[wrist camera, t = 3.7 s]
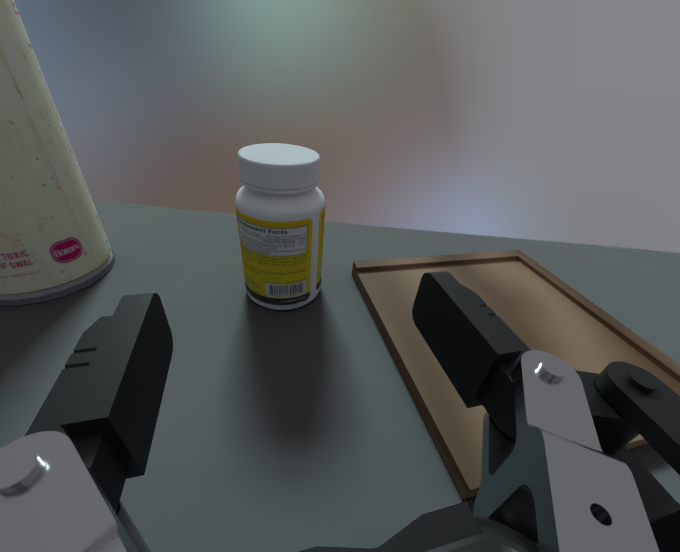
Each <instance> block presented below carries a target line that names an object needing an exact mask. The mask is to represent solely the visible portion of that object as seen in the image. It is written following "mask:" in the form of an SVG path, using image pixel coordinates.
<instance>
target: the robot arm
mask: <svg viewBox="0 0 680 552" xmlns="http://www.w3.org/2000/svg"><path fill="white" fill-rule="evenodd" d="M412 316H413V320H414V323H415V325H416V327H417V329H418V330H419V332H420V333H421V335H422V337H423V338H424V340H425V341H426V343H427V345H428V346H429V348H430V349H431V351H432V352H433V354H434V356H435V357H436V359H437V360H438V362H439V364H440V365H441V367H442V368H443V370H444V372H445V373H446V375H447V376H448V378H449V380H450V381H451V383H452V384H453V386H454V388H455V389H456V391H457V392H458V394H459V396H460V397H461V399H462V400H463V402H464V404H465V405H466V407H467V408H471V407H476V406H481V405H483V407H484V408H485V410H486V413H485V414H484V417H483V439H482V471H481V483H480V487H479V490H478V493H477V496H476V499H475V503H474V509H473V513H472V511H471V509H470V507H469V505H468V503H467V501H466V502H463V503H459V504H456V505H453V506H449V507H446V508H443V509H439V510H436V511H433V512H429V513H426V514H423V515H421V516H420V517H418V518H417V519H416V520H414V521H413V522H412V523H410V524H409V525H408V526H406V527H405V528H404V529H402V530H401V531H400V532H398V533H397V534H396V535H394V536H393V537H392V538H390V539H389V540H388V541H387V542H385V543H384V544H383V545H381V546H379V547H377V548H373V549H366V548H342V547H318V546H316V547H313V548H309V549H306V550H303V551H299V552H680V504H679V503H678V502H676V501H675V500H674V499H673V497H672V496H671V495H670V494H669V493H668V492H667V491H666V490H665V489H664V488H663V486H662V485H661V484H660V483H659V482H658V481H657V480H656V479H655V478H654V477H653V475H652V474H651V473H650V472H649V471H648V470H647V469H646V468H645V467H644V466H643V464H642V463H641V462H640V461H639V460H638V459H637V458H636V457H635V456H634V455H633V453H632V452H631V451H630V450H629V449H628V448H627V447H626V446H625V445H627V444H628V443H629V442H630V441H632V440H633V439H634V438H635V437H637V436H638V435H639V434H640V435H641V436H642V437H643V438H644V439H645V440H646V441H647V442H648V443H649V444H650V445H651V446H652V447H653V448H654V449H655V450H656V451H657V452H658V453H659V454H660V455H661V456H662V457H663V459H664V460H665V461H666V462H667V463H668V464H669V465H670V466H671V467H672V468H673V469H674V470H675V471H676V472H677V473H678V474H679V475H680V396H679V395H678V394H677V393H675V392H674V391H673V390H672V389H671V388H669V387H668V386H667V385H666V384H665V383H663V382H662V381H661V380H660V379H658V378H657V377H656V376H654V375H653V374H651V373H650V372H648V371H646V370H644V369H642V368H640V367H638V366H636V365H633V364H630V363H627V362H621V361H614V362H611V363H609V364H608V365H607V366H606V367H605V369H604V370H603V371H602V372H601V373H600V374H598V373H591V372H583V371H576V370H574V369H573V368H572V367H571V366H570V365H569V364H568V363H566V362H565V361H563V360H562V359H560V358H559V357H557V356H555V355H553V354H550V353H548V352H544V351H539V350H531V349H530V348H529V347H528V346H527V345H526V344H525V343H524V342H523V341H522V340H521V339H520V338H519V337H518V336H517V335H516V334H515V333H514V332H513V331H512V330H511V329H510V328H509V327H508V326H507V325H506V323H505V322H504V321H503V320H502V319H501V318H500V317H499V316H496V313H495V312H494V311H493V310H492V309H491V308H490V307H489V306H488V307H487V304H486V303H485V302H484V301H483V299H482V298H481V297H480V296H479V295H478V294H477V293H475V292H474V291H472V290H470V289H469V288H467V287H466V286H464V285H461V284H460V283H459V282H458V281H457V280H456V279H455V278H454V276H453V275H452V274H451V273H450V272H448V271H440V272H427V273H424V274H423V276H422V278H421V281H420V284H419V287H418V291H417V294H416V297H415V301H414V304H413V308H412ZM172 351H173V339H172V333H171V330H170V327H169V324H168V321H167V318H166V314H165V311H164V308H163V305H162V302H161V299H160V297H159V295H158V294H157V293H151V294H138V295H126V296H123V297H122V298H121V300H120V302H119V304H118V306H117V308H116V310H115V312H114V314H113V316H107V317H101V318H99V319H98V320H97V321H96V322H95V323H94V324H93V325H92V326H90V327H89V328H88V329H87V330H86V331H85V332H84V333H83V334H82V336H81V338H80V339H79V341H78V343H77V345H76V347H75V348H74V353H73V354H71V355H70V357H69V359H68V361H67V363H66V364H65V369H63V370H62V371H61V373H60V375H59V377H58V379H57V380H56V382H55V384H54V386H53V387H52V389H51V391H50V393H49V394H48V396H47V398H46V400H45V402H44V403H43V405H42V407H41V409H40V410H39V412H38V414H37V416H36V418H35V419H34V421H33V423H32V425H31V426H30V428H29V430H28V431H27V433H26V435H25V436H24V437H22V438H20V439H17V440H15V441H14V442H12V443H10V444H8V445H6V446H5V447H3V448H1V449H0V552H150V550H149V548H148V547H147V545H146V543H145V541H144V540H143V538H142V536H141V535H140V533H139V531H138V530H137V528H136V526H135V524H134V523H133V521H132V519H131V518H130V516H129V514H128V513H127V511H126V509H125V507H124V506H123V504H122V502H121V501H120V497H121V494H122V490H123V486H124V483H125V479H127V478H132V477H137V476H141V475H144V473H145V469H146V465H147V460H148V456H149V452H150V448H151V443H152V439H153V435H154V430H155V426H156V422H157V417H158V413H159V409H160V404H161V400H162V396H163V392H164V387H165V383H166V379H167V374H168V370H169V366H170V361H171V357H172Z"/></svg>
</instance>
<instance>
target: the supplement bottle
mask: <svg viewBox="0 0 680 552" xmlns="http://www.w3.org/2000/svg"><path fill="white" fill-rule="evenodd" d="M238 167H239V177H240V182H241V183H242V185H244V186H243V187H242V188H240V189H239V191H238V192H237V195H236V199H235V202H236V203H235V205H236V214H237V222H238V229H239V237H240V245H241V253H242V261H243V269H244V277H245V285H246V290H247V293H248V295H249V297H250V298H251V299H252V300H253V301H254V302H256V303H257V304H259V305H261V306H264V307H266V308H270V309H275V310H290V309H295V308H299V307H301V306H304V305H306V304H308V303H309V302H311V301H312V300H313V299H314V298H315V297H316V296H317V294H318V293H319V290H320V287H321V273H322V251H323V233H324V215H325V199H324V196H323V194H322V192H321V191H320V190H319V189H318V188H317V186H318V184H319V178H320V176H319V172H320V157H319V155H318V153H317V152H315V151H313V150H311V149H308V148H305V147H301V146H296V145H289V144H278V143H269V144H256V145H250V146H247V147H244V148H242V149H240V150H239V152H238Z"/></svg>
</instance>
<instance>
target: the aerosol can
mask: <svg viewBox="0 0 680 552" xmlns="http://www.w3.org/2000/svg"><path fill="white" fill-rule="evenodd" d="M114 262H115V257H114V254H113V252H112V249H111V247H110V244H109V241H108V239H107V236H106V234H105V231H104V229H103V226H102V224H101V221H100V219H99V216H98V213H97V211H96V208H95V206H94V203H93V201H92V198H91V196H90V193H89V191H88V188H87V185H86V183H85V181H84V178H83V175H82V173H81V170H80V168H79V165H78V163H77V160H76V158H75V155H74V152H73V150H72V147H71V145H70V142H69V140H68V137H67V135H66V132H65V130H64V127H63V124H62V122H61V120H60V117H59V114H58V112H57V109H56V107H55V104H54V102H53V99H52V97H51V94H50V92H49V89H48V86H47V84H46V81H45V79H44V76H43V74H42V71H41V68H40V66H39V64H38V61H37V58H36V56H35V53H34V51H33V48H32V46H31V43H30V40H29V38H28V35H27V33H26V30H25V28H24V25H23V23H22V21H21V18H20V15H19V12H18V10H17V7H16V5H15V2H14V0H0V305H14V306H16V305H24V304H32V303H40V302H44V301H47V300H51V299H55V298H59V297H63V296H66V295H68V294H71V293H73V292H76V291H78V290H81V289H83V288H86V287H87V286H89V285H91V284H92V283H94V282H96V281H97V280H99V279H101V278H102V277H103V276H104V275H105V274H106V273H108V272H109V271H110V270H111V269H112V267H113V264H114Z"/></svg>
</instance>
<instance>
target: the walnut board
mask: <svg viewBox="0 0 680 552" xmlns="http://www.w3.org/2000/svg"><path fill="white" fill-rule="evenodd" d="M440 271H448V272H450V273H451V274H452V275H453V276H454V278H455V279H456V280H457V281H458V282H459V283H460V284H461V285H464V286H466V287H467V288H469V289H470V290H472V291H474V292H475V293H477V294H478V295H479V296H480V297H481V298H482V299H483V301H484V302H485V303H486V304H487V307H488V306H489V307H490V308H491V309H492V310H493V311H494V312H495V313H496V316H499V317H500V318H501V319H502V320H503V321H504V322H505V323H506V325H507V326H508V327H509V328H510V329H511V330H512V331H513V332H514V333H515V334H516V335H517V336H518V337H519V338H520V339H521V340H522V341H523V342H524V343H525V344H526V345H527V346H528V347H529V348H530V349H531V350H539V351H544V352H548V353H550V354H553V355H555V356H557V357H559V358H560V359H562V360H563V361H565V362H566V363H568V364H569V365H570V366H571V367H572V368H573V369H574V370H576V371H583V372H591V373H598V374H600V373H601V372H602V371H603V370H604V369H605V367H606V366H607V365H608V364H609V363H611V362H614V361H621V362H627V363H630V364H633V365H636V366H638V367H640V368H642V369H644V370H646V371H648V372H650V373H651V374H653V375H654V376H656V377H657V378H658V379H660V380H661V381H662V382H663V383H665V384H666V385H667V386H668V387H669V388H671V389H672V390H673V391H674V392H675V393H677V394H678V395H679V396H680V365H679V364H677V363H676V362H674V361H673V360H672V359H670V358H669V357H667V356H666V355H665V354H663V353H662V352H660V351H659V350H658V349H656V348H655V347H654V346H652V345H651V344H649V343H648V342H647V341H645V340H644V339H642V338H641V337H640V336H638V335H637V334H635V333H634V332H633V331H631V330H630V329H628V328H627V327H626V326H624V325H623V324H621V323H620V322H619V321H617V320H616V319H615V318H613V317H612V316H610V315H609V314H608V313H606V312H605V311H603V310H602V309H601V308H599V307H598V306H596V305H595V304H594V303H592V302H591V301H589V300H588V299H587V298H585V297H584V296H583V295H581V294H580V293H578V292H577V291H576V290H574V289H573V288H571V287H570V286H569V285H567V284H566V283H564V282H563V281H562V280H560V279H559V278H557V277H556V276H555V275H553V274H552V273H550V272H549V271H548V270H546V269H545V268H544V267H542V266H541V265H539V264H538V263H537V262H535V261H534V260H532V259H531V258H530V257H528V256H527V255H525V254H524V253H523V252H521V251H520V250H514V251H499V252H484V253H470V254H455V255H440V256H425V257H410V258H395V259H381V260H366V261H354V262H353V270H352V276H353V278H354V280H355V282H356V284H357V286H358V288H359V290H360V292H361V294H362V296H363V298H364V300H365V302H366V304H367V306H368V308H369V310H370V312H371V314H372V316H373V318H374V320H375V322H376V324H377V326H378V328H379V330H380V332H381V335H382V337H383V339H384V341H385V343H386V345H387V347H388V349H389V351H390V353H391V355H392V357H393V359H394V361H395V363H396V365H397V367H398V369H399V371H400V373H401V375H402V377H403V379H404V381H405V383H406V385H407V387H408V389H409V391H410V393H411V395H412V397H413V399H414V401H415V404H416V406H417V408H418V410H419V412H420V414H421V416H422V418H423V420H424V422H425V424H426V426H427V428H428V430H429V432H430V434H431V436H432V438H433V440H434V442H435V444H436V446H437V448H438V450H439V452H440V454H441V456H442V458H443V460H444V462H445V464H446V466H447V468H448V470H449V473H450V475H451V477H452V479H453V481H454V483H455V485H456V487H457V489H458V491H459V493H460V495H461V497H462V499H466V498H469V497H472V496H476V495H477V493H478V490H479V487H480V483H481V471H482V439H483V417H484V414H485V413H486V410H485V408H484V407H483V405H481V406H476V407H471V408H467V407H466V405H465V404H464V402H463V400H462V399H461V397H460V396H459V394H458V392H457V391H456V389H455V388H454V386H453V384H452V383H451V381H450V380H449V378H448V376H447V375H446V373H445V372H444V370H443V368H442V367H441V365H440V364H439V362H438V360H437V359H436V357H435V356H434V354H433V352H432V351H431V349H430V348H429V346H428V345H427V343H426V341H425V340H424V338H423V337H422V335H421V333H420V332H419V330H418V329H417V327H416V325H415V323H414V320H413V316H412V308H413V304H414V301H415V297H416V294H417V291H418V287H419V284H420V281H421V278H422V276H423V274H424V273H427V272H440ZM645 444H648V442H647V441H646V440H645V439H644V438H643V437H642V436H641V435H640V434H639V435H638V436H637V437H635V438H634V439H633V440H632V441H630V442H629V443H628V444H627V445H625V446H626V447H627V448H628V449H631V448H635V447H638V446H641V445H645Z"/></svg>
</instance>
